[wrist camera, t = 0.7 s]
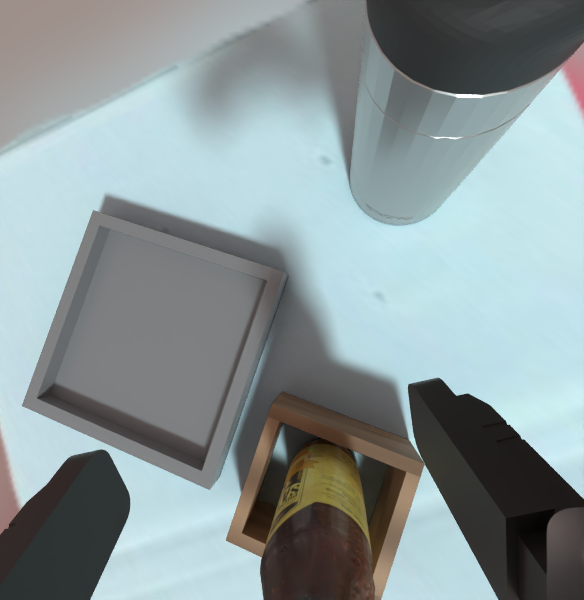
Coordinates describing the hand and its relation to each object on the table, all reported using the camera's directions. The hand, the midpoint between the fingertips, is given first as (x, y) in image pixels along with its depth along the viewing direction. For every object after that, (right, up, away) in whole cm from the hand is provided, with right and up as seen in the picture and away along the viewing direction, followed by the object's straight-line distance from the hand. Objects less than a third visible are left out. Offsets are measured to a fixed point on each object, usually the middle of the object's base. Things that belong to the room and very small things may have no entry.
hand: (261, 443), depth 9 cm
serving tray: (-12, 0, +24) cm, 27 cm away
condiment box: (+4, -12, +21) cm, 24 cm away
